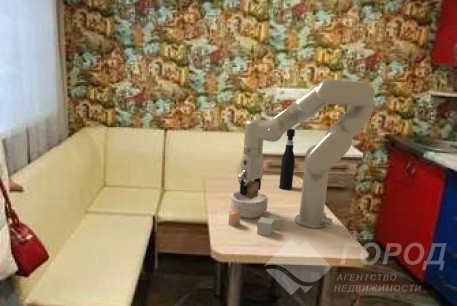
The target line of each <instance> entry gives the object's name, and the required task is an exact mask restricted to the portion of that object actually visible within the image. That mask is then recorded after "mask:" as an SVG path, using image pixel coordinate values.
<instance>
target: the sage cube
mask: <svg viewBox="0 0 457 306" xmlns="http://www.w3.org/2000/svg"><path fill="white" fill-rule="evenodd" d="M268 216H269V217H268V218H270V219H274V230H280V229H281V228H280V227H281V217H280V215H268Z"/></svg>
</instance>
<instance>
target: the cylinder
mask: <svg viewBox="0 0 457 306" xmlns="http://www.w3.org/2000/svg"><path fill="white" fill-rule="evenodd" d="M230 225H231V226H230ZM228 226H230V227H232V226H235V228H236V226H238V227H240V226H241V212H240V211H237V210H233V209H231V210H229V212H228Z"/></svg>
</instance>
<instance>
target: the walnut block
mask: <svg viewBox="0 0 457 306" xmlns="http://www.w3.org/2000/svg"><path fill="white" fill-rule="evenodd" d="M245 181H246V180H244V182H245ZM258 188H259V182H256V181H254V180H252V181H248V183H247V195H242V194H241V196H243V197H246V198H250V199H252V198H254V197H257V196H258V192H259V190H258Z"/></svg>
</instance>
